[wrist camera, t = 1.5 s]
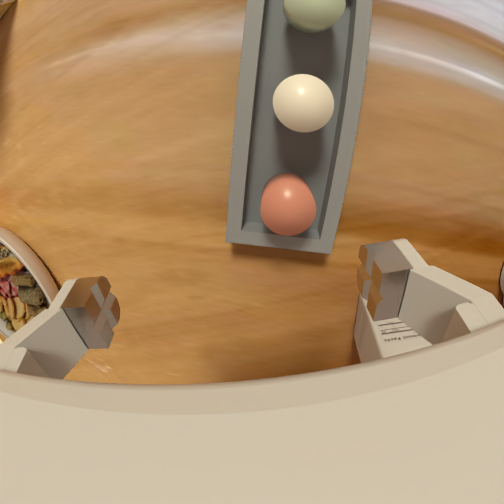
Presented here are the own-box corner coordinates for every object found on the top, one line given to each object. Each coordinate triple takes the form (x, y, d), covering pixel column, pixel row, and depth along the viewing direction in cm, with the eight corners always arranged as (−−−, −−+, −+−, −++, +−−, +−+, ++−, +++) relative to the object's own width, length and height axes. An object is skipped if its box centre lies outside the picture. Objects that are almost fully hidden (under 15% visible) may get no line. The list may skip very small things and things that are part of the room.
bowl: (82, 264, 42) (56, 293, 35) (71, 359, 56) (57, 384, 49) (-29, 192, 37) (-56, 209, 30) (-20, 297, 50) (-37, 316, 44)
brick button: (315, 176, 30) (320, 188, 27) (306, 221, 33) (310, 238, 29) (264, 169, 30) (263, 180, 27) (259, 216, 33) (257, 232, 29)
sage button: (338, -6, 20) (347, -18, 16) (334, 37, 23) (343, 30, 19) (285, -15, 20) (287, -29, 17) (280, 29, 23) (281, 19, 19)
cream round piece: (329, 81, 25) (337, 80, 22) (322, 131, 28) (329, 136, 24) (275, 73, 25) (276, 70, 22) (269, 123, 28) (269, 128, 24)
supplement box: (402, 329, 44) (430, 402, 32) (352, 335, 45) (370, 414, 32) (414, 285, 40) (454, 360, 27) (359, 290, 41) (386, 373, 28)
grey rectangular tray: (363, -14, 21) (373, -24, 18) (325, 238, 37) (330, 254, 34) (255, -31, 21) (253, -44, 18) (229, 227, 37) (225, 242, 34)
